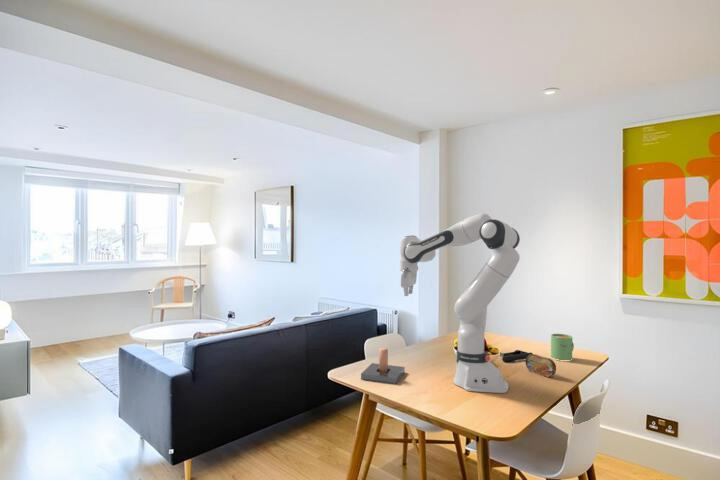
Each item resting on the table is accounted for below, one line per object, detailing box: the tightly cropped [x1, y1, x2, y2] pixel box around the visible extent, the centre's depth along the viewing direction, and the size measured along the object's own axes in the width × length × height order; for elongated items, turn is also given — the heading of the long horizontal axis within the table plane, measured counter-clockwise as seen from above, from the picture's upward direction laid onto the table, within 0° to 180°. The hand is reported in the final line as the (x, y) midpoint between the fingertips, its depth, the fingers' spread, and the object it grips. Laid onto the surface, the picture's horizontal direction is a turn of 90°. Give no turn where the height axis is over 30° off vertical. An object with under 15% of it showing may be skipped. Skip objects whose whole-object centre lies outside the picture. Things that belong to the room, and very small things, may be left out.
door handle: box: [499, 349, 534, 363], centre depth 211 cm, size 3×20×16 cm
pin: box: [378, 347, 389, 373], centre depth 180 cm, size 4×4×12 cm
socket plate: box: [360, 362, 406, 385], centre depth 180 cm, size 16×16×2 cm
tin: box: [524, 353, 557, 378], centre depth 185 cm, size 15×3×8 cm, turn 27°
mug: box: [550, 333, 575, 360], centre depth 209 cm, size 13×10×12 cm
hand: (408, 294), depth 200 cm, fingers open, 8 cm apart
